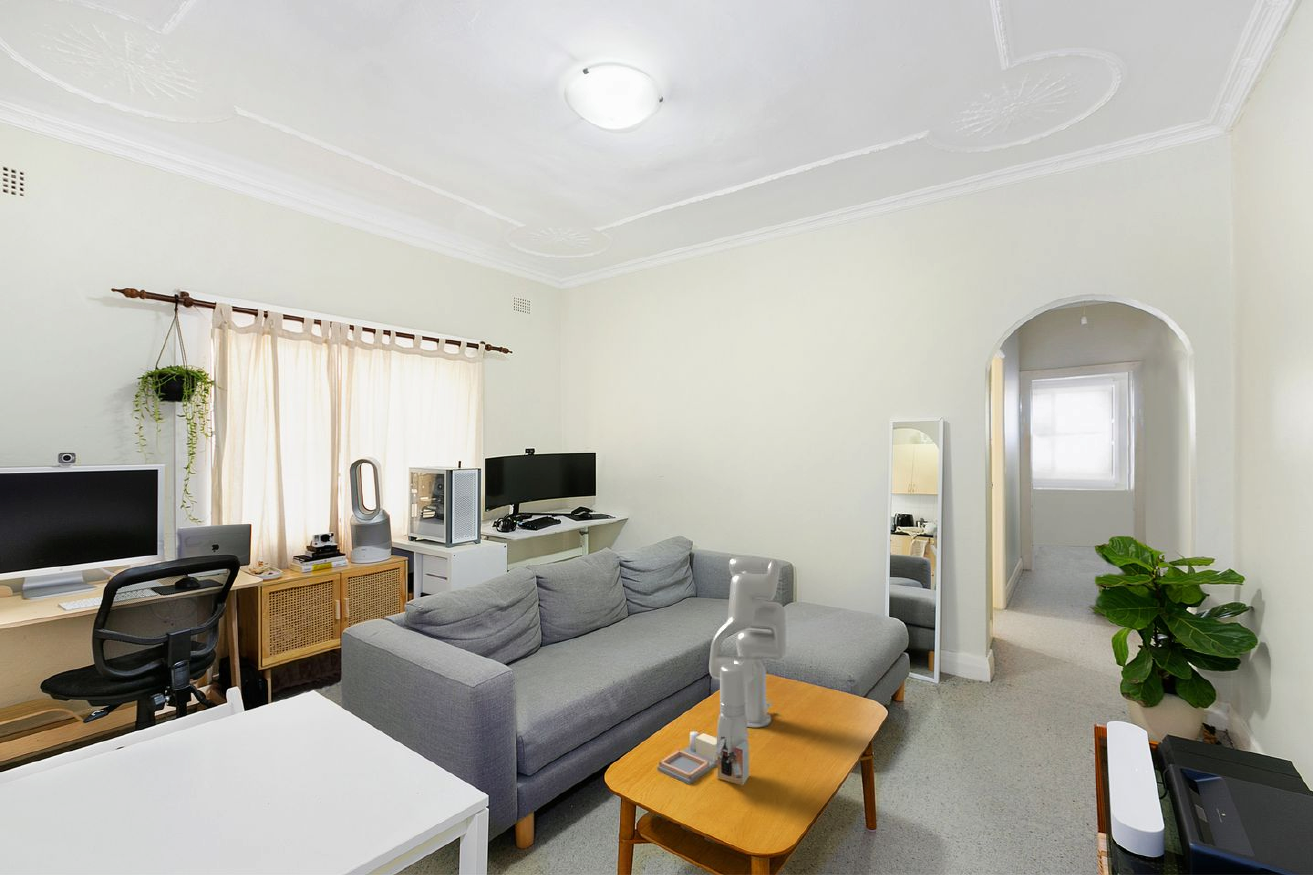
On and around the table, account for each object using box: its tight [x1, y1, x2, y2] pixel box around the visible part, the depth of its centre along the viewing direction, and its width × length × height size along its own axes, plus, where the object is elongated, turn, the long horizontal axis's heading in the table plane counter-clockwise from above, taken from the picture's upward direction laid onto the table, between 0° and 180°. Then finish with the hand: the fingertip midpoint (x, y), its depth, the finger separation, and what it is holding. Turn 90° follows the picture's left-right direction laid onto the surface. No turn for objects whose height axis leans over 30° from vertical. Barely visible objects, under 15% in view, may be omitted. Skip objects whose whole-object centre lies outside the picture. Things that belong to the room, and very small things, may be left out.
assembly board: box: [657, 730, 718, 785], centre depth 181 cm, size 18×12×6 cm, turn 140°
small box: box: [716, 740, 750, 787], centre depth 174 cm, size 8×6×10 cm
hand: (733, 768), depth 174 cm, fingers closed on small box, 6 cm apart
